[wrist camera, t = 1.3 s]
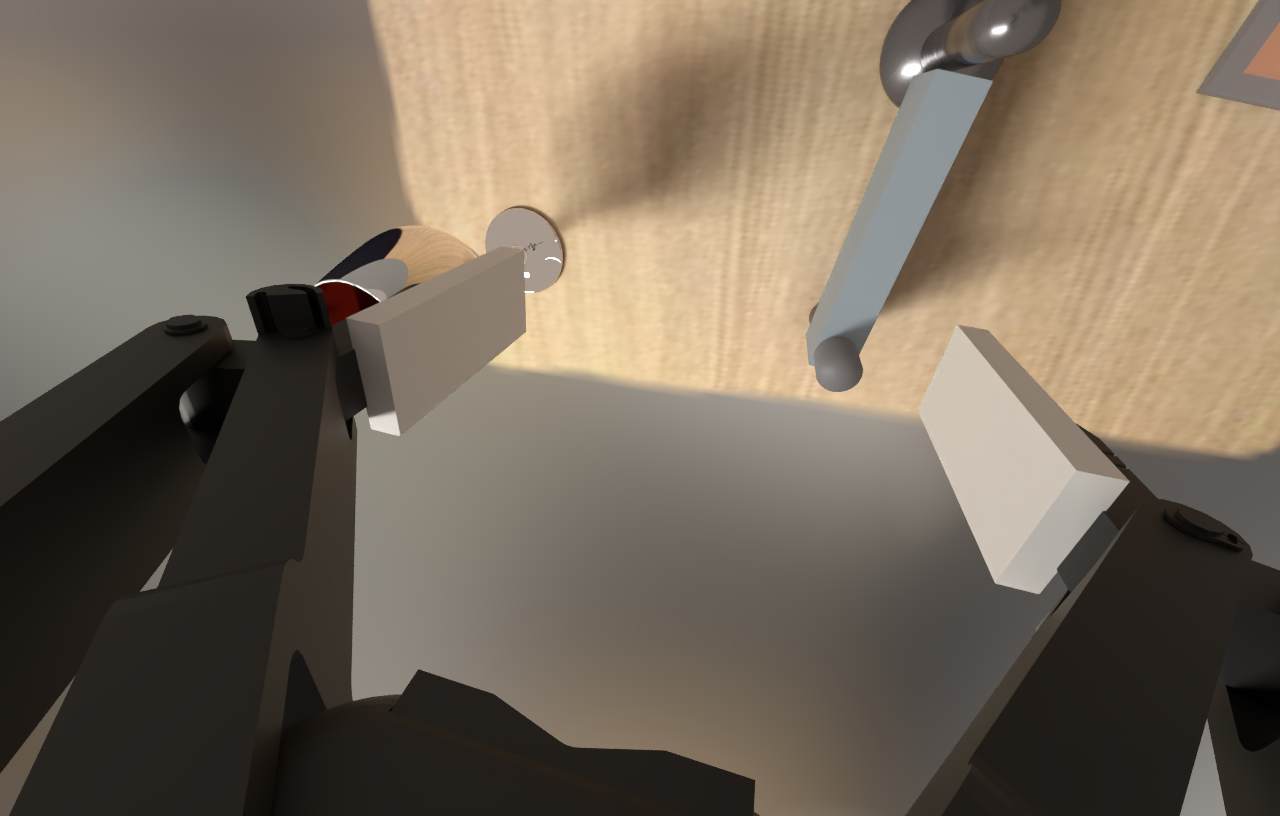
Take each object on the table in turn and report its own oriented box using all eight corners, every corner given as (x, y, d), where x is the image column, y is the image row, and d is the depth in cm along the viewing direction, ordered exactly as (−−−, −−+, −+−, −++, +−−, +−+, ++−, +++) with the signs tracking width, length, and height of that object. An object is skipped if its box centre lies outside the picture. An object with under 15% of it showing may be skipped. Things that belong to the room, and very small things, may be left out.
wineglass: (575, 309, 40) (447, 427, 25) (482, 297, 41) (308, 401, 26) (573, 199, 35) (416, 261, 20) (469, 190, 37) (253, 241, 22)
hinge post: (911, -33, 25) (983, -117, 16) (1033, -9, 25) (1178, -82, 16) (861, 102, 29) (897, 95, 19) (967, 126, 28) (1056, 131, 19)
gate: (906, 78, 27) (952, 63, 20) (950, 88, 27) (1013, 77, 20) (804, 327, 36) (809, 384, 28) (837, 337, 35) (851, 396, 28)
